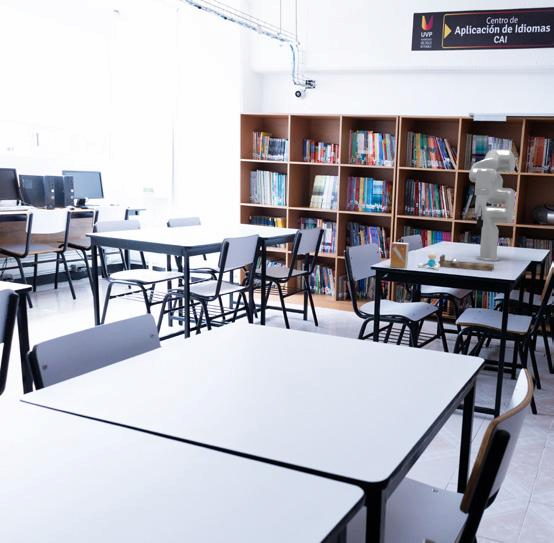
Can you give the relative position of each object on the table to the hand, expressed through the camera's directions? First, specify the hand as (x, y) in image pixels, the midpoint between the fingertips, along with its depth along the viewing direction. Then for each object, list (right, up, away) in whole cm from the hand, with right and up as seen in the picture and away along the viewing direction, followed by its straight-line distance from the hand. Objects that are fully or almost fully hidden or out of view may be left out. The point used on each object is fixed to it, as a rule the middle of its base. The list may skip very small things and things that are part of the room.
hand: (479, 227), depth 351 cm
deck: (-6, -22, +4) cm, 23 cm away
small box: (-43, -22, -2) cm, 48 cm away
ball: (-11, -19, +7) cm, 23 cm away
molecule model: (-25, -22, -2) cm, 34 cm away
